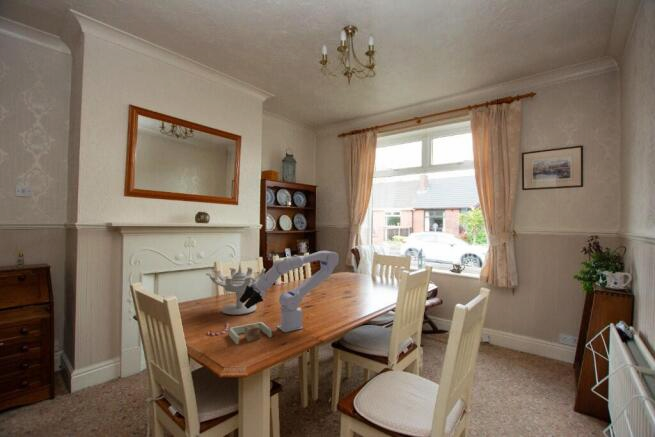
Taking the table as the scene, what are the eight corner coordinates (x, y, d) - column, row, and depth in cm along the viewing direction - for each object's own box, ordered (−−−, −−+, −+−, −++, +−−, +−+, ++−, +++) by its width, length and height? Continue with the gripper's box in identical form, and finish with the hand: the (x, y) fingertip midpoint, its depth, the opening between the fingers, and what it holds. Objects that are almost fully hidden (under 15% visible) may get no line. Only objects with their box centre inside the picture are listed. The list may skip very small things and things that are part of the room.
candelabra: (277, 316, 152) (278, 264, 152) (204, 324, 139) (205, 267, 139) (266, 299, 184) (266, 256, 184) (205, 305, 171) (206, 258, 171)
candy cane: (234, 322, 141) (222, 334, 126) (234, 325, 141) (221, 337, 126) (218, 321, 141) (204, 333, 126) (218, 324, 141) (204, 336, 126)
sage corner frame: (261, 328, 136) (261, 321, 136) (271, 336, 126) (271, 329, 126) (228, 334, 127) (228, 328, 127) (236, 344, 118) (236, 336, 118)
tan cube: (255, 335, 128) (255, 323, 128) (259, 339, 124) (260, 327, 124) (244, 337, 125) (244, 325, 125) (248, 341, 121) (248, 329, 121)
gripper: (255, 271, 136) (232, 293, 131) (267, 278, 123) (242, 303, 118) (265, 281, 138) (243, 303, 133) (277, 290, 126) (253, 314, 121)
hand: (243, 304), depth 126 cm, fingers open, 7 cm apart
